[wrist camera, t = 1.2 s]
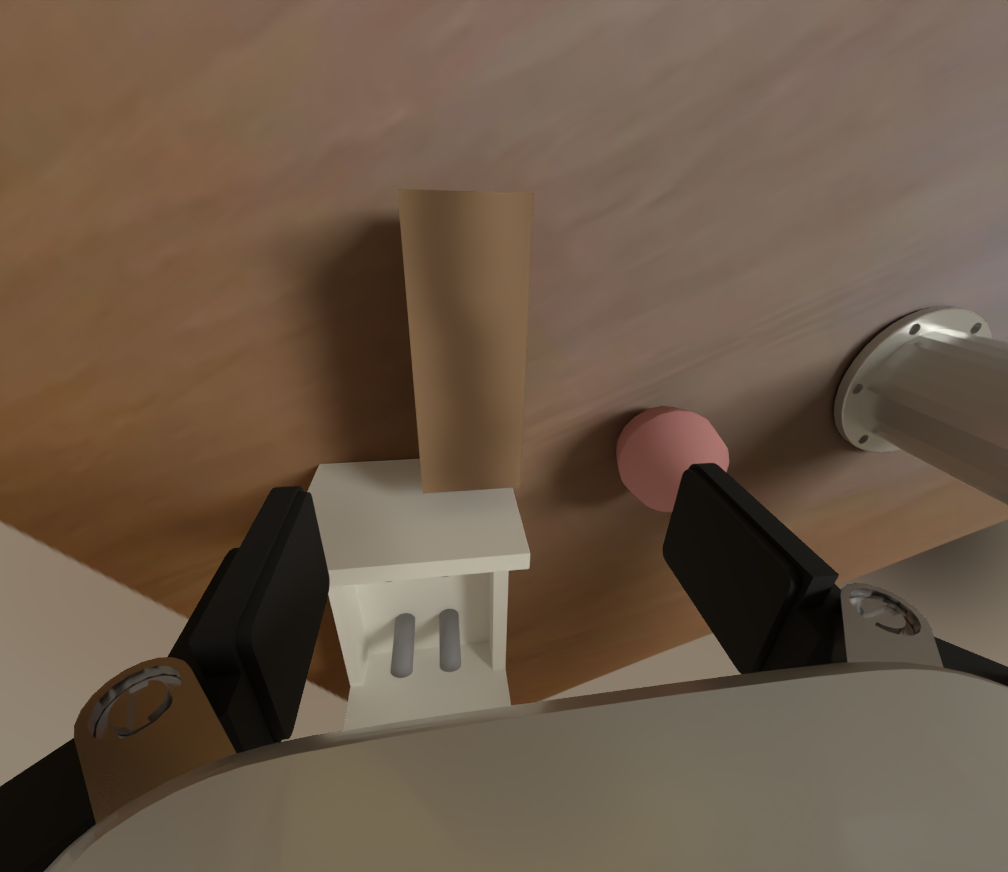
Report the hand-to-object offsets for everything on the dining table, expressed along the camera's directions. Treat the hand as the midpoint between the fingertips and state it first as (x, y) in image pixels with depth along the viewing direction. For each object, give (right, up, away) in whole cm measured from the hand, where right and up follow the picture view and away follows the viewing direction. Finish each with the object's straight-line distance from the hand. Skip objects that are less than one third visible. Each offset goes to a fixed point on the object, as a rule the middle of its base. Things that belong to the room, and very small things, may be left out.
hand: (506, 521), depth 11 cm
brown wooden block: (-3, +8, +16) cm, 18 cm away
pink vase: (+12, +2, +25) cm, 28 cm away
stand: (-7, -9, +28) cm, 30 cm away
